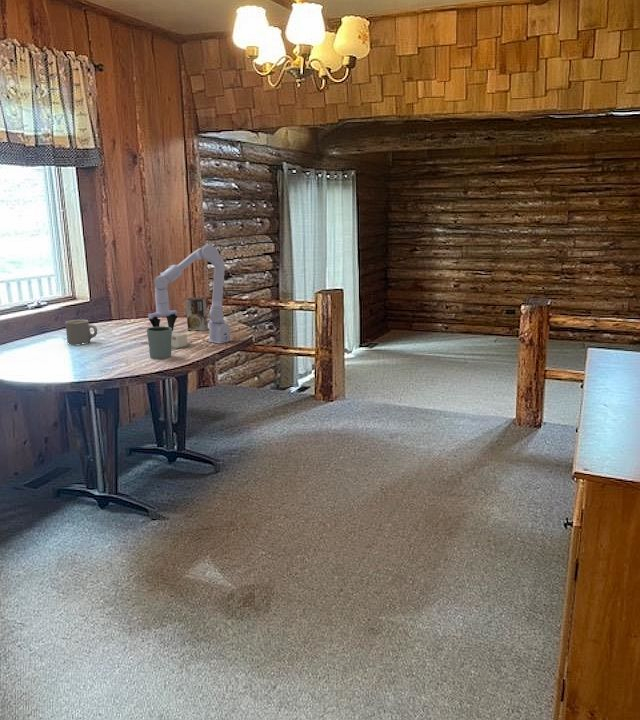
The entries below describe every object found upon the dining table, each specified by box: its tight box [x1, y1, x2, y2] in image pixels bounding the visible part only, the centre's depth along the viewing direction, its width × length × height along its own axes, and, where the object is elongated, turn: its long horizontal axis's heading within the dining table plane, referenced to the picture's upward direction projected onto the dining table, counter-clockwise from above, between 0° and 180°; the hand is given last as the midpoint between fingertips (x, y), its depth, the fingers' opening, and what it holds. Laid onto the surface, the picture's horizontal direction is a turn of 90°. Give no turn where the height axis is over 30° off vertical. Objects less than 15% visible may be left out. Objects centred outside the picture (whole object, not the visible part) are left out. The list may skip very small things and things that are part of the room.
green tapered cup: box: [146, 325, 173, 360], centre depth 262 cm, size 10×10×12 cm
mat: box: [140, 340, 194, 350], centre depth 289 cm, size 24×11×1 cm, turn 51°
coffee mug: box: [65, 319, 98, 345], centre depth 293 cm, size 13×10×10 cm
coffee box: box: [185, 297, 209, 331], centre depth 321 cm, size 9×6×16 cm
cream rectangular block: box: [171, 331, 188, 347], centre depth 285 cm, size 10×5×5 cm, turn 51°
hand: (164, 332), depth 289 cm, fingers open, 7 cm apart
